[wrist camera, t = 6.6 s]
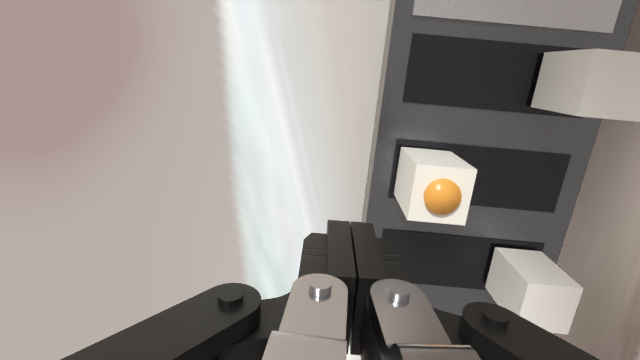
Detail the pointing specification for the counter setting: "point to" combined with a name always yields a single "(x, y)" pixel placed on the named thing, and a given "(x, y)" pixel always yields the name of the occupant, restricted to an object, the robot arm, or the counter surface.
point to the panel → (483, 130)
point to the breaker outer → (533, 288)
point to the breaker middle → (434, 186)
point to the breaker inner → (590, 84)
